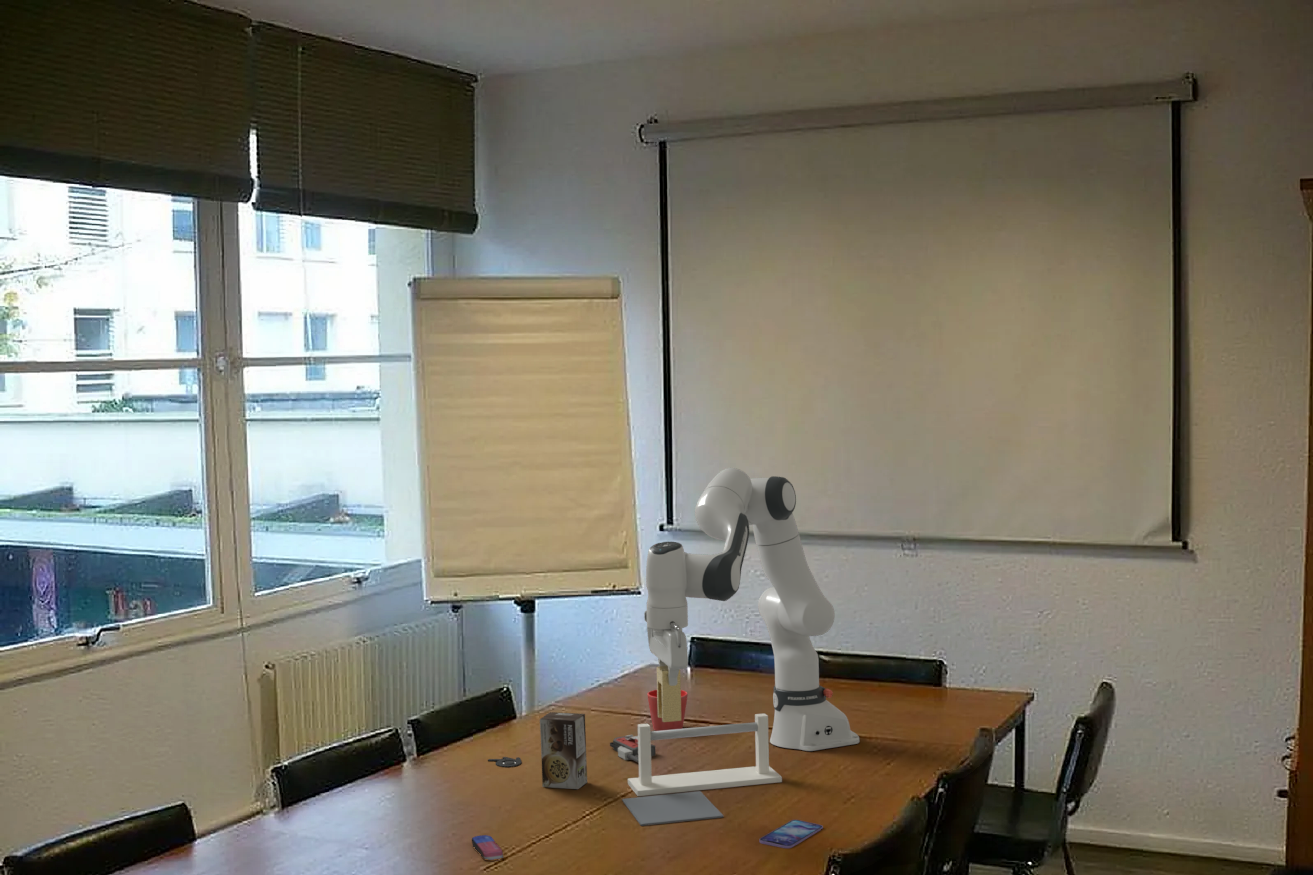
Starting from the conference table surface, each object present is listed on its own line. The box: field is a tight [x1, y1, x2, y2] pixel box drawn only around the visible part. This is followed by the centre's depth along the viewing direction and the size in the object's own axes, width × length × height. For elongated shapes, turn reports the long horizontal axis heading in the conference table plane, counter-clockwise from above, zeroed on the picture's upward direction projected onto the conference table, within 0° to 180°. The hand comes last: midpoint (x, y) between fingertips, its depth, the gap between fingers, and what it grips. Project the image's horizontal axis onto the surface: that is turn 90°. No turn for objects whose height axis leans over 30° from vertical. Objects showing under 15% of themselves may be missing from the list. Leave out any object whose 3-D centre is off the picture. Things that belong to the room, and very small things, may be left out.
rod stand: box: [627, 713, 783, 797], centre depth 327 cm, size 34×10×15 cm, turn 104°
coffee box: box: [539, 711, 588, 790], centre depth 328 cm, size 9×6×16 cm
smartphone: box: [759, 819, 824, 849], centre depth 291 cm, size 7×1×15 cm
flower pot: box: [647, 689, 689, 731], centre depth 376 cm, size 11×11×10 cm
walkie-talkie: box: [609, 734, 657, 764], centre depth 351 cm, size 9×4×20 cm
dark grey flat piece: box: [487, 756, 522, 768], centre depth 349 cm, size 9×8×1 cm
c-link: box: [656, 665, 682, 722], centre depth 308 cm, size 4×5×11 cm
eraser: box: [471, 834, 504, 860], centre depth 285 cm, size 11×4×2 cm, turn 22°
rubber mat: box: [621, 790, 724, 827], centre depth 309 cm, size 18×18×1 cm
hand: (668, 681), depth 308 cm, fingers closed on c-link, 5 cm apart
